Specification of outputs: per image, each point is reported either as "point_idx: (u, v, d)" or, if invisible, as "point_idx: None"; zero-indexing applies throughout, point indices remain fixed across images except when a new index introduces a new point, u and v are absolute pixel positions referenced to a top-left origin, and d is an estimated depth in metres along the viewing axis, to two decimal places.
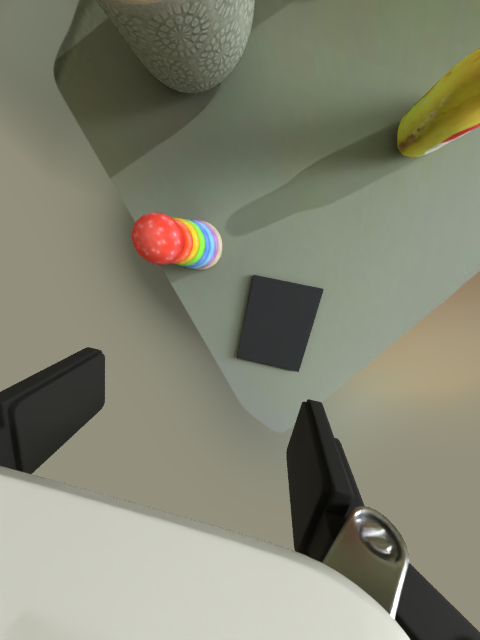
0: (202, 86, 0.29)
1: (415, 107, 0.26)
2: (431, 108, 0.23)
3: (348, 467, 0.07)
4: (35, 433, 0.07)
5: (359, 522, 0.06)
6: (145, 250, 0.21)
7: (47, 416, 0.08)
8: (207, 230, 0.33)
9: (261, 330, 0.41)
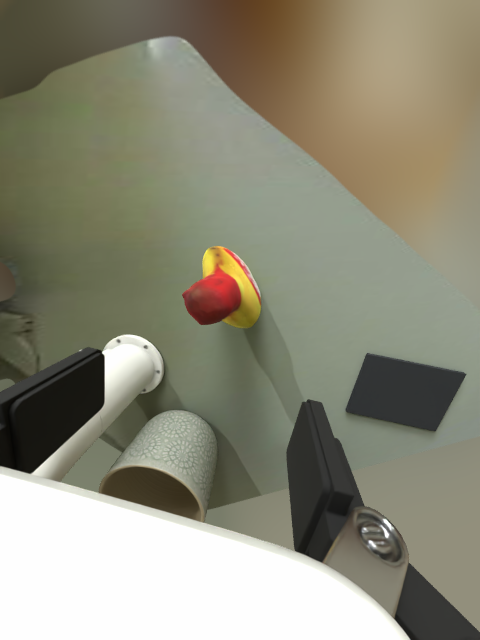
0: (216, 446, 0.43)
1: None
2: None
3: (348, 467, 0.07)
4: (35, 433, 0.07)
5: (359, 522, 0.06)
6: None
7: (47, 416, 0.08)
8: None
9: (405, 408, 0.40)
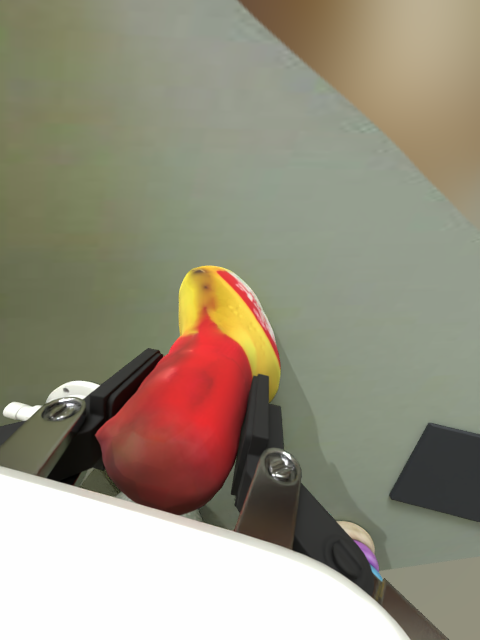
0: None
1: None
2: None
3: (280, 426, 0.09)
4: None
5: (270, 459, 0.07)
6: None
7: None
8: None
9: None
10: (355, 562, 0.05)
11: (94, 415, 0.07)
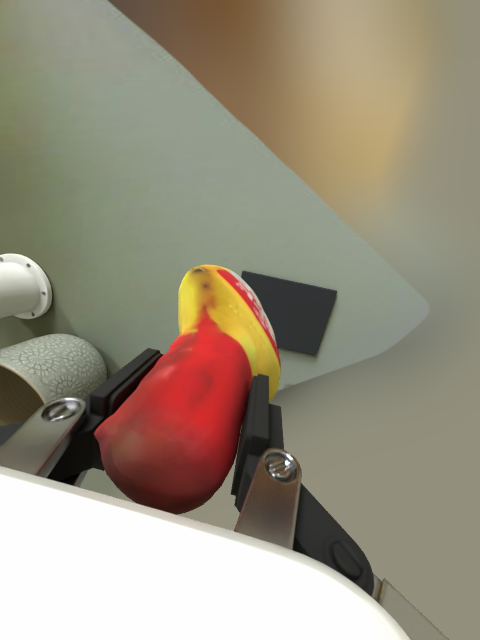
0: (100, 369, 0.43)
1: None
2: None
3: (280, 426, 0.09)
4: None
5: (270, 459, 0.07)
6: None
7: None
8: None
9: (284, 330, 0.40)
10: (355, 562, 0.05)
11: (94, 415, 0.07)
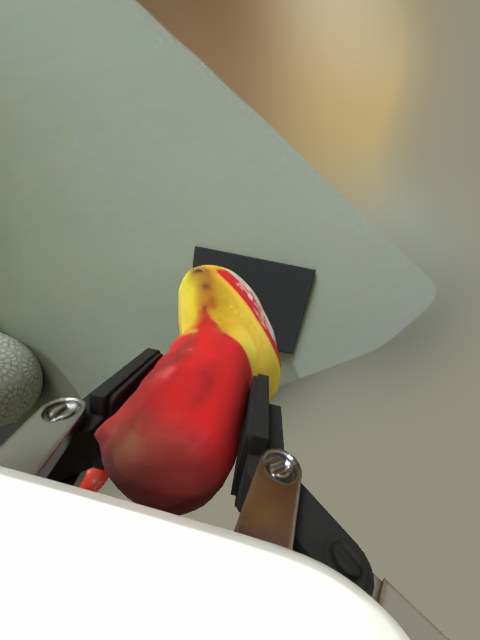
0: (27, 372, 0.34)
1: None
2: None
3: (280, 426, 0.09)
4: None
5: (270, 459, 0.07)
6: None
7: None
8: None
9: None
10: (355, 562, 0.05)
11: (94, 415, 0.07)
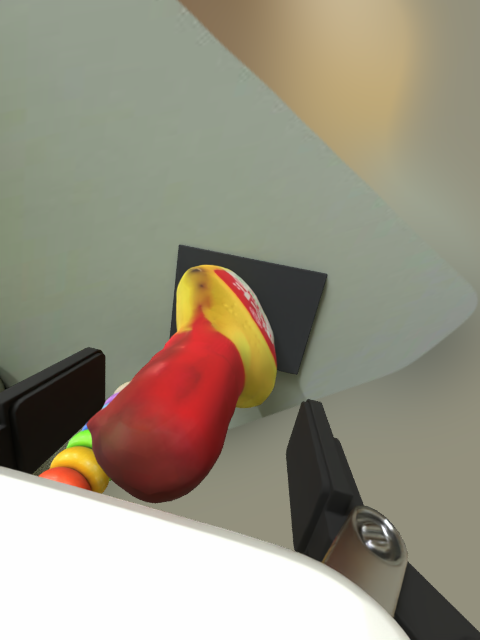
0: None
1: None
2: None
3: (347, 467, 0.07)
4: (36, 433, 0.07)
5: (358, 521, 0.06)
6: None
7: (48, 416, 0.08)
8: None
9: None
10: None
11: None
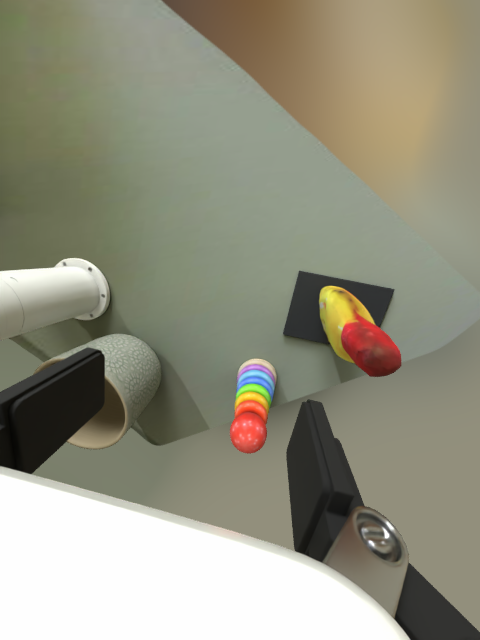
0: (157, 367, 0.44)
1: None
2: None
3: (348, 467, 0.07)
4: (35, 433, 0.07)
5: (359, 522, 0.06)
6: (254, 448, 0.29)
7: (47, 416, 0.08)
8: (244, 375, 0.41)
9: None
10: None
11: None
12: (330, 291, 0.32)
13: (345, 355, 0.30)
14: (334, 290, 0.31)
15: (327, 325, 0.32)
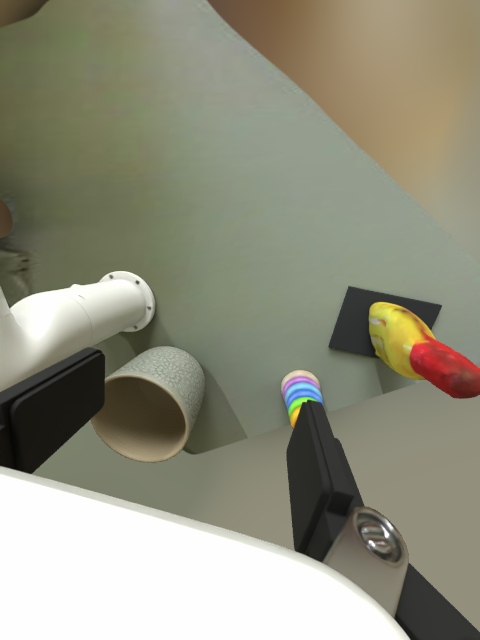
0: (204, 379, 0.45)
1: None
2: None
3: (348, 467, 0.07)
4: (35, 433, 0.07)
5: (359, 522, 0.06)
6: None
7: (47, 416, 0.08)
8: (293, 388, 0.42)
9: None
10: None
11: None
12: (391, 309, 0.33)
13: (408, 372, 0.32)
14: (396, 309, 0.32)
15: (388, 342, 0.33)
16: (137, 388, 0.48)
